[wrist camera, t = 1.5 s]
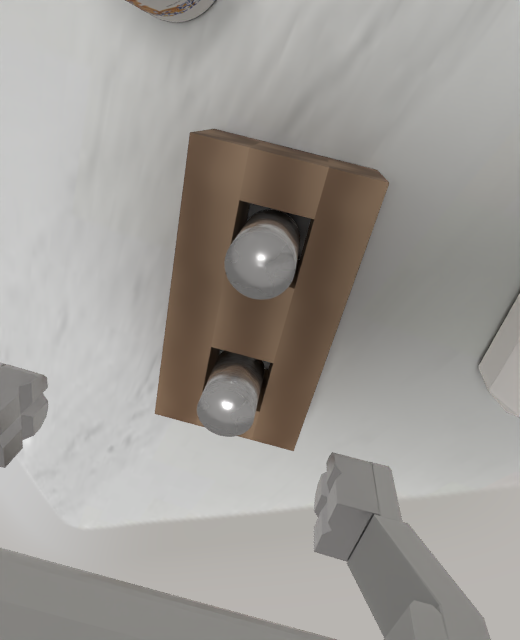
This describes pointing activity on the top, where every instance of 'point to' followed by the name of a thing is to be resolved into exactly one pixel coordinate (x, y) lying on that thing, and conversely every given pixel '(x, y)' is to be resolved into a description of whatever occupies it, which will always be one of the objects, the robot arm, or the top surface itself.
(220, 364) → the peg
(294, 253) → the peg
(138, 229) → the top surface
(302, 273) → the brown wooden block
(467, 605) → the robot arm
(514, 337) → the crystal
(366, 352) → the top surface
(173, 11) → the bath foam
